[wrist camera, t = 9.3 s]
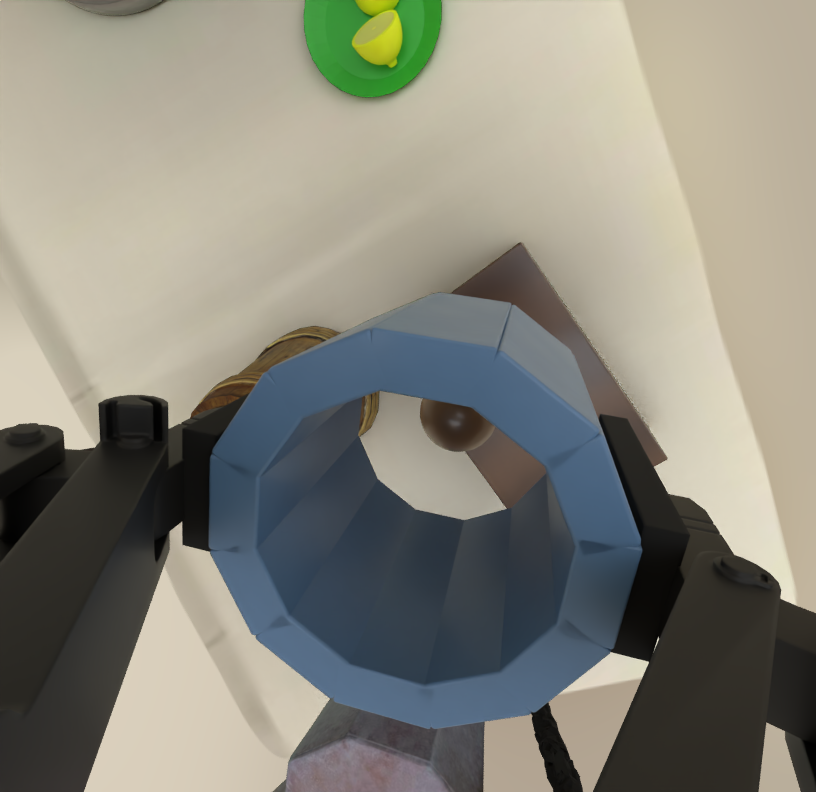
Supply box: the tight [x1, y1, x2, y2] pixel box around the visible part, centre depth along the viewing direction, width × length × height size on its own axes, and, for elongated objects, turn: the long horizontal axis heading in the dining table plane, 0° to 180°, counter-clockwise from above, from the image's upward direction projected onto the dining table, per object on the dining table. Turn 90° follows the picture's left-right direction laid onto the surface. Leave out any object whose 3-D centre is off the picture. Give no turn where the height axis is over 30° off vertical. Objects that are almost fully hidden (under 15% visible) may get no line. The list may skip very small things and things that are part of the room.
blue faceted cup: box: [209, 292, 642, 729], centre depth 14 cm, size 8×8×7 cm
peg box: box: [420, 243, 667, 509], centre depth 26 cm, size 14×9×18 cm, turn 37°
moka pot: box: [273, 697, 583, 792], centre depth 30 cm, size 10×15×20 cm, turn 109°
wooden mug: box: [84, 326, 379, 451], centre depth 30 cm, size 9×14×18 cm, turn 111°
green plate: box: [304, 0, 442, 97], centre depth 29 cm, size 8×8×3 cm
